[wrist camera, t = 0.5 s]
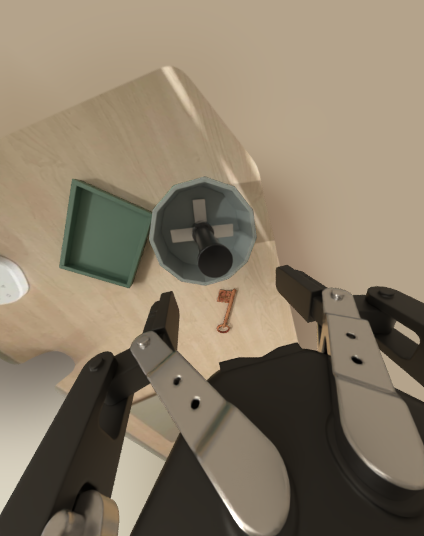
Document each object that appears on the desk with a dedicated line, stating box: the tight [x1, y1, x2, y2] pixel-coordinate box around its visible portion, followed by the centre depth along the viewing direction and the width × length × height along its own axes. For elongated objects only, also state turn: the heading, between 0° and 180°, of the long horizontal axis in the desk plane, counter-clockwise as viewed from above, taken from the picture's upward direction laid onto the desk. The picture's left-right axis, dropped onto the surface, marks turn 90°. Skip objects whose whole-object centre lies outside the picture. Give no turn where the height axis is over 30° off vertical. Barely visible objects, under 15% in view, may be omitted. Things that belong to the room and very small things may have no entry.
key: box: [217, 289, 236, 333], centre depth 44 cm, size 6×1×15 cm
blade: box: [170, 199, 233, 278], centre depth 18 cm, size 9×9×14 cm
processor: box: [149, 177, 257, 286], centre depth 27 cm, size 13×13×16 cm
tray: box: [59, 179, 152, 288], centre depth 32 cm, size 18×14×2 cm
